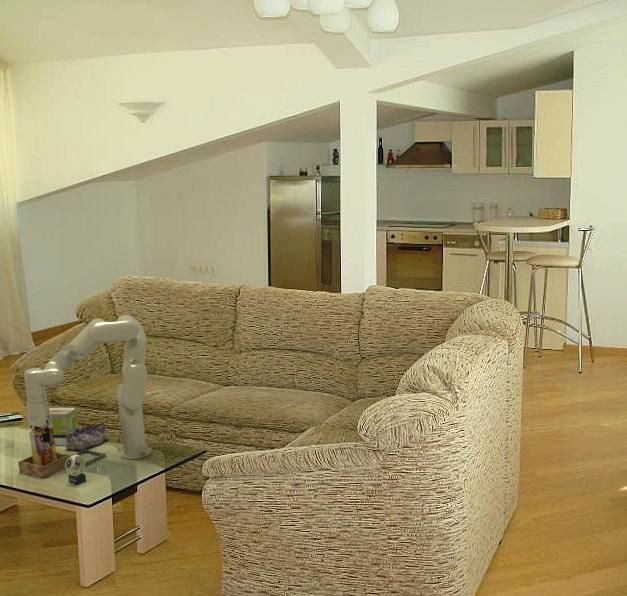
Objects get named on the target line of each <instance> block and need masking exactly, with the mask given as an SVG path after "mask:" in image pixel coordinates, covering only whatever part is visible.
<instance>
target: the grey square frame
mask: <svg viewBox="0 0 627 596" xmlns="http://www.w3.org/2000/svg"><path fill="white" fill-rule="evenodd" d="M85 453H86V454H85ZM82 454H83V455H88V454H91V455H90V456H93V455H95V456H94V458H91V459H89V460H87V461H85V466H86V467H88V466H90V465H92V464H94V463H93V462H95V463H97V462H99V461H101V460H103V459H105V458H107V455H106V454H107V453H103V452H99V451H93V450H87V449H85V450H82V451H79V452H76V453H74V454H72V455H71V454H70V457H71V456H73V455H79V456H80V455H81V456H83V455H82ZM104 457H105V458H104ZM100 459H101V460H100ZM98 460H99V461H98ZM96 461H97V462H96ZM91 463H92V464H91ZM80 464H81V461H76V460H75V465H77V466H76V467H80ZM89 464H90V465H89ZM87 465H88V466H87Z"/></svg>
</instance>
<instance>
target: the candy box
mask: <svg viewBox="0 0 627 596" xmlns="http://www.w3.org/2000/svg"><path fill="white" fill-rule="evenodd" d="M45 429H46V427H45ZM49 433H50V441H49V442H46V443H44V442H43V435H42V434H43V430H42V428H39V429H36V430H33V431H32V430H30V431H29V432H28V434H29V440H30V447H31V456H33V463H34V464H35V465H40V466H44V465H46V464H49V463H51V462H53V461H55V460H57V455H56V452H57V450H56V445H55V441H54V434H53V427H52V428H51V430H50V432H49Z"/></svg>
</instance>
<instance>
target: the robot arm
mask: <svg viewBox="0 0 627 596" xmlns="http://www.w3.org/2000/svg"><path fill="white" fill-rule="evenodd" d="M118 342H119V343H121V342H125V349H124V351H125V352H124V355H123V356H124V358H123V361H122V367H121V373H122V375H123V381H122V383H121V384H120V385H119V386H118V388H117V391H116V399H117V405H118V412H119V420H120V429H121V439H122V449H123V450H121V452H120V454H119V455H120V458H121V459H124V460H138V459H143V458H146V457H147V456H149V455H150V454H151V452H152V451H153V448H152V447H149V446H148V443H147V442H146V435H145V434H146V433H145V424H144V413H143V403H144V400H145V394H146V389H147V382H148V370H147V369H148V368H147V367H146V365H145V362H146V361H145V360H146V354H147V353H146V352H147V336H146V333H145V330H144V327H143V326H142V323H140V322H139V321H138V320H137V319H136V318H134V317H133V316H132V315H128V314H125V315H121V316H119V317H118V318H117V320H116V321H109V322H108V321H107V322H106V321H105V320H104V319H102V318H97V317H96V318H94V319H92V320H91V321H89V323H88V324H87V325H86V326H85V327H84V328H83V329H82V330H81V331H80V332H79V333H77V335H76V336H75V337H74V338H73V339H72V340H71V341H70V342H69V343H68V344H66V345H65V346H64V347H63V348H62V349H60V350H59V351H58V352H57V353H56V354H55V355H54V356H53V357H52V358H51V359H50V360H49V361H48V362H47V363H46V365H45V366H44V368H43V369H42V368H40V367H33V368H29V369H25V371H24V373H23V377H24V383H25V391H26V399H27V402H26V407H25V408H26V411H25V412H26V418H27V419H26V422H27V423H26V424H28V425H29V426H30V428H31V431H33V430H36V429H39V427H41V428H42V430H43V434H42V435H43V442H44V443H46V442H49V441H50V433H49V432H50V430H51V428H52V427H53V424H52V422H51V414H50V409H49V408H50V406H49V403H48V399H47V391H46V387H56V386H58V385H60V384H62V382H63V381H64V373H65V371H66V370H67V369H68V368H69V367H70V366H71V365H72V364H73V363H74V362H77V361H78V360H82V359H84V358H86V357H87V356H88V355H89V354H90V353H91V352H92V351H93V349H94V348H96V347H97V345H98V344H109V343H110V344H111V343H118ZM45 427H46V429H45Z"/></svg>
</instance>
